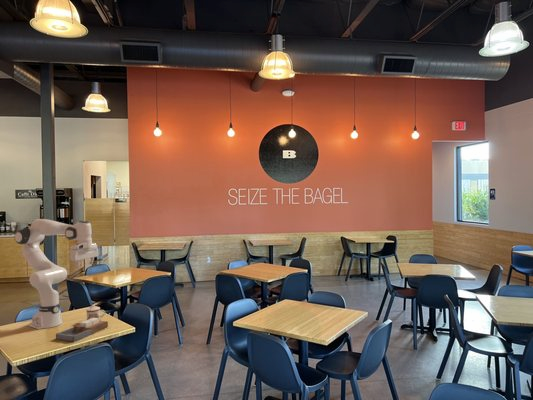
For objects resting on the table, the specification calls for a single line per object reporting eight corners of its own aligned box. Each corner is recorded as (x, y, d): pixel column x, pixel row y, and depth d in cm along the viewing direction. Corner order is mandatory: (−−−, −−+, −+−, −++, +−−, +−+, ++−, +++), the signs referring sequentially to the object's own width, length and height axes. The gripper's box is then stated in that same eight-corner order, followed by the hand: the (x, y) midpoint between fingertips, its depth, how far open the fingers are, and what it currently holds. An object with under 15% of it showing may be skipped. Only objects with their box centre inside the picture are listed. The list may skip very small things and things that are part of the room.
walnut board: (73, 332, 242) (73, 326, 242) (91, 325, 255) (90, 319, 255) (91, 334, 237) (91, 328, 237) (107, 327, 250) (107, 321, 250)
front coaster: (80, 326, 241) (80, 322, 241) (86, 324, 246) (86, 320, 246) (86, 327, 239) (86, 323, 239) (92, 324, 244) (92, 321, 244)
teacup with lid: (86, 324, 257) (86, 307, 257) (86, 320, 266) (86, 304, 266) (105, 321, 263) (104, 305, 263) (104, 317, 271) (104, 302, 271)
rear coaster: (87, 323, 246) (87, 319, 246) (93, 321, 251) (93, 317, 251) (93, 324, 245) (93, 320, 245) (99, 322, 249) (99, 318, 249)
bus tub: (56, 339, 230) (55, 333, 230) (73, 332, 242) (73, 326, 242) (73, 342, 225) (73, 336, 225) (91, 334, 237) (91, 329, 237)
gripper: (93, 243, 259) (94, 262, 259) (68, 246, 240) (69, 268, 240) (100, 243, 257) (101, 263, 257) (75, 246, 238) (76, 268, 238)
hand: (85, 265), depth 248 cm, fingers open, 8 cm apart
